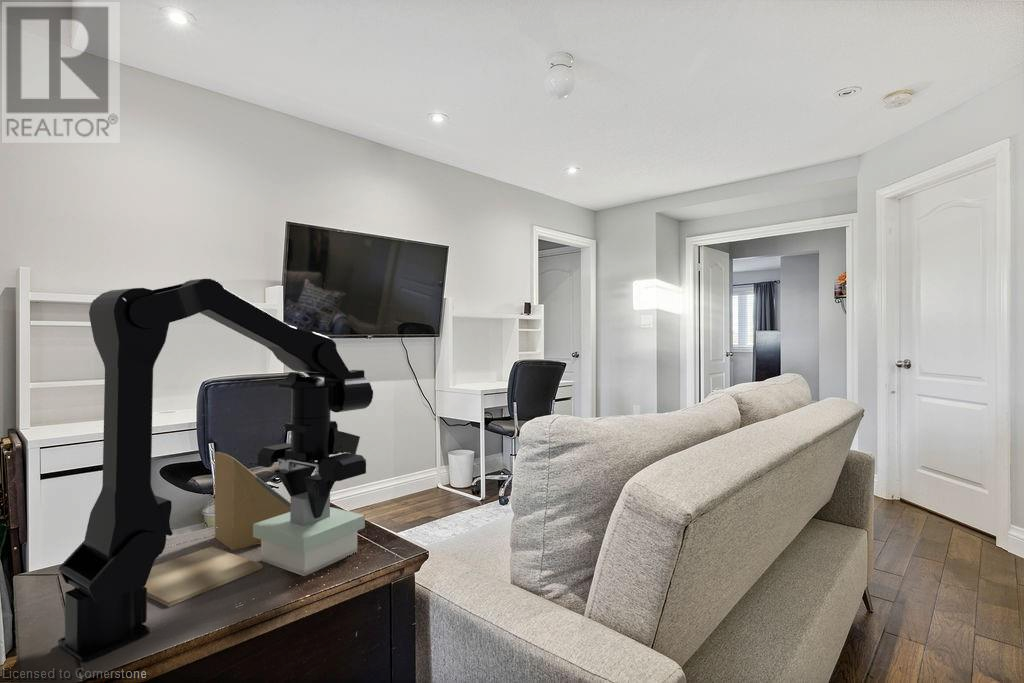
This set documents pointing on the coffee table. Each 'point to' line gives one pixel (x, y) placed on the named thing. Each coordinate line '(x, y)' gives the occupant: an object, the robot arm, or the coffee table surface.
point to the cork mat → (195, 574)
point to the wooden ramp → (242, 502)
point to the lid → (307, 525)
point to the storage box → (308, 555)
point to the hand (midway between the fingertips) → (310, 515)
